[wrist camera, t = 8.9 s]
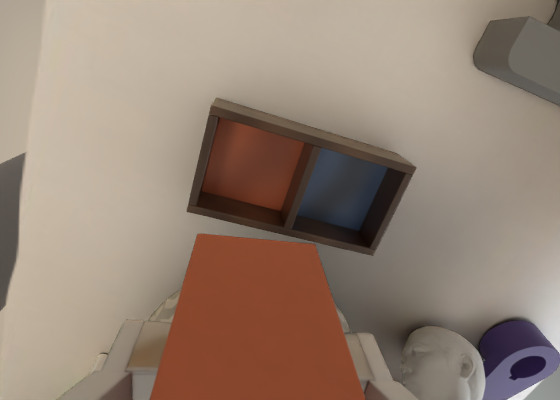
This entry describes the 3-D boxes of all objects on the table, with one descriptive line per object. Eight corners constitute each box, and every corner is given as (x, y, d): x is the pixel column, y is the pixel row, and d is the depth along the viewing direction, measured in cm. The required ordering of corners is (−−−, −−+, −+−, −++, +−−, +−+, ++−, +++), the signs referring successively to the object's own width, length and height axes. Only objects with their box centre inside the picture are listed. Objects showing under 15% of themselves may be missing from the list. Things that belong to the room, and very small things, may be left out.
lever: (574, 358, 34) (550, 332, 36) (531, 338, 32) (510, 313, 35) (486, 419, 39) (471, 392, 41) (445, 405, 37) (432, 378, 40)
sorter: (193, 192, 27) (186, 211, 24) (216, 97, 24) (211, 105, 21) (359, 233, 30) (373, 256, 27) (396, 153, 27) (417, 167, 24)
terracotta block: (197, 232, 11) (145, 409, 6) (315, 243, 12) (372, 415, 6) (191, 324, 13) (146, 534, 7) (295, 330, 13) (327, 530, 8)
